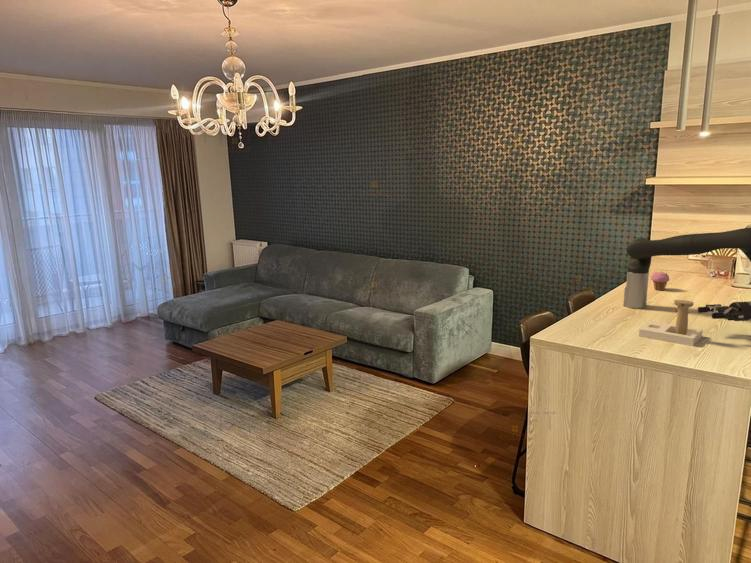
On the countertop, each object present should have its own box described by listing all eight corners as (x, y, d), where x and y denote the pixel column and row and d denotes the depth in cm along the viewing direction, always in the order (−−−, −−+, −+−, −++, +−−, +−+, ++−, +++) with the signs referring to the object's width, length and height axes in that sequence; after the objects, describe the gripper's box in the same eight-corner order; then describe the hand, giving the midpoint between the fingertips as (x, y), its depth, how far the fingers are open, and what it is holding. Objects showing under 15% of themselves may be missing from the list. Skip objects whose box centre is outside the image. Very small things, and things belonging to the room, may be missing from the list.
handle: (672, 335, 203) (675, 299, 200) (690, 337, 199) (694, 301, 196) (670, 338, 199) (673, 302, 196) (689, 341, 195) (692, 304, 192)
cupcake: (668, 292, 269) (669, 273, 267) (649, 290, 274) (651, 272, 271) (668, 288, 276) (670, 270, 274) (650, 287, 281) (652, 269, 279)
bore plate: (638, 336, 203) (639, 329, 203) (649, 327, 213) (650, 320, 212) (692, 346, 190) (693, 338, 190) (701, 336, 200) (702, 329, 199)
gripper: (734, 297, 203) (694, 299, 203) (761, 306, 189) (718, 308, 189) (732, 315, 205) (692, 316, 205) (758, 325, 191) (716, 327, 191)
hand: (705, 312), depth 197 cm, fingers open, 8 cm apart
